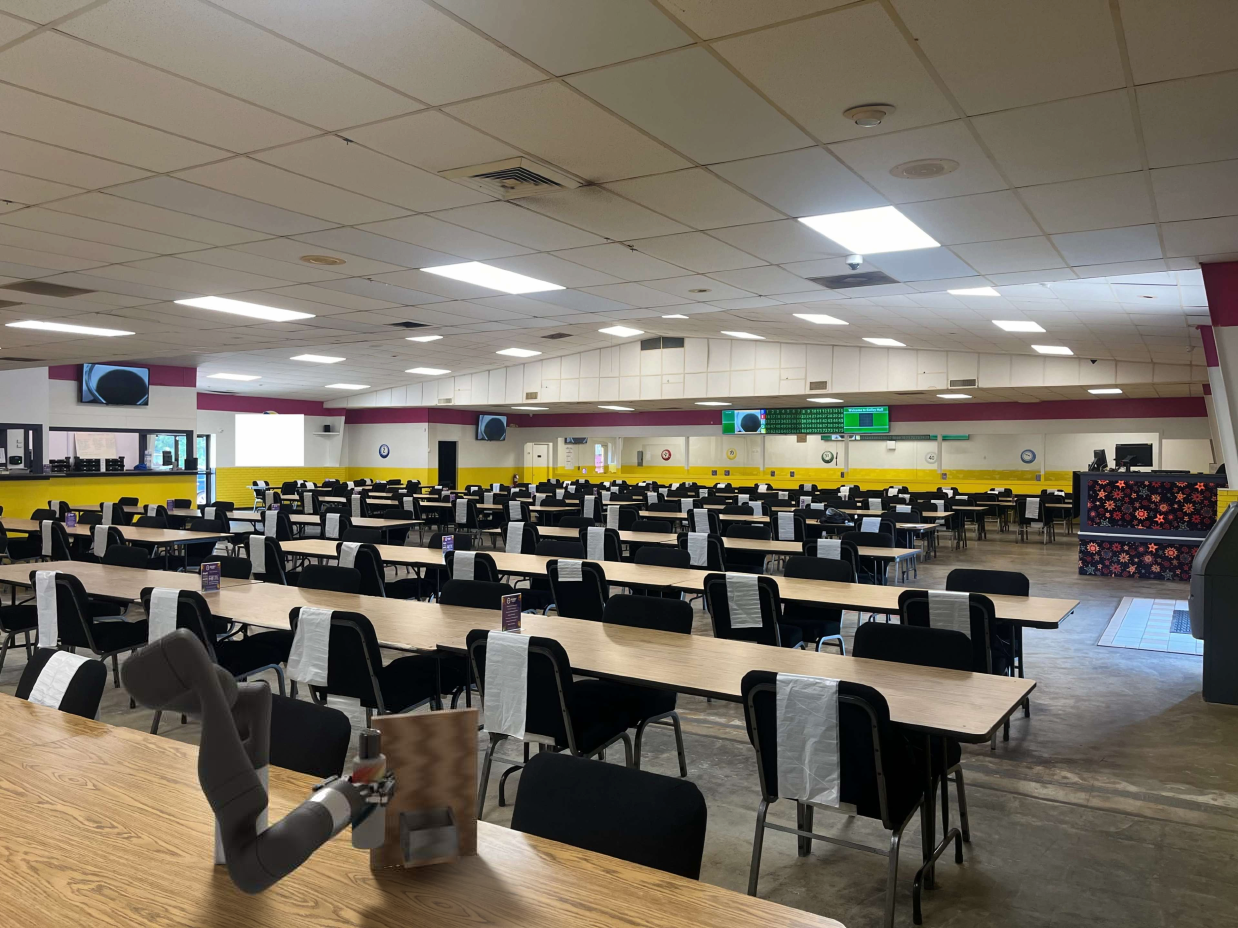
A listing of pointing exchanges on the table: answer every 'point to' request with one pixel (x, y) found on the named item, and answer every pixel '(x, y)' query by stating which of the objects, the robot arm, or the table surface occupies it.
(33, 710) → the table surface
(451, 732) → the bracket
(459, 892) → the table surface
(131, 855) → the table surface
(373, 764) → the lotion bottle
